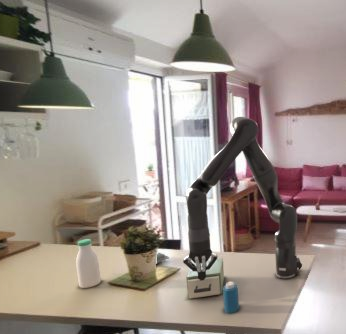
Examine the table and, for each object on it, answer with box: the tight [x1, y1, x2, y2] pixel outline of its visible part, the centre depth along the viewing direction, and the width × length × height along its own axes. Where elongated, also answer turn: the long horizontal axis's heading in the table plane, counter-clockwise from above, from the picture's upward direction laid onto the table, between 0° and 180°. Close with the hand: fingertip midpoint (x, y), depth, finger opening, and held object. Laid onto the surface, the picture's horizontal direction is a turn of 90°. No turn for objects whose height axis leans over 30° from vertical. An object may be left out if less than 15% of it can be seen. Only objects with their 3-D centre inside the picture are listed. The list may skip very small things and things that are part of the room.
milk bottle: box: [75, 238, 102, 289], centre depth 145 cm, size 8×8×20 cm
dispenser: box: [185, 257, 225, 300], centre depth 142 cm, size 15×13×9 cm
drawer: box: [186, 275, 221, 300], centre depth 138 cm, size 18×12×7 cm, turn 16°
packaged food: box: [156, 251, 170, 265], centre depth 167 cm, size 9×12×5 cm
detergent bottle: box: [222, 281, 240, 314], centre depth 126 cm, size 5×5×10 cm
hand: (202, 279), depth 132 cm, fingers closed
